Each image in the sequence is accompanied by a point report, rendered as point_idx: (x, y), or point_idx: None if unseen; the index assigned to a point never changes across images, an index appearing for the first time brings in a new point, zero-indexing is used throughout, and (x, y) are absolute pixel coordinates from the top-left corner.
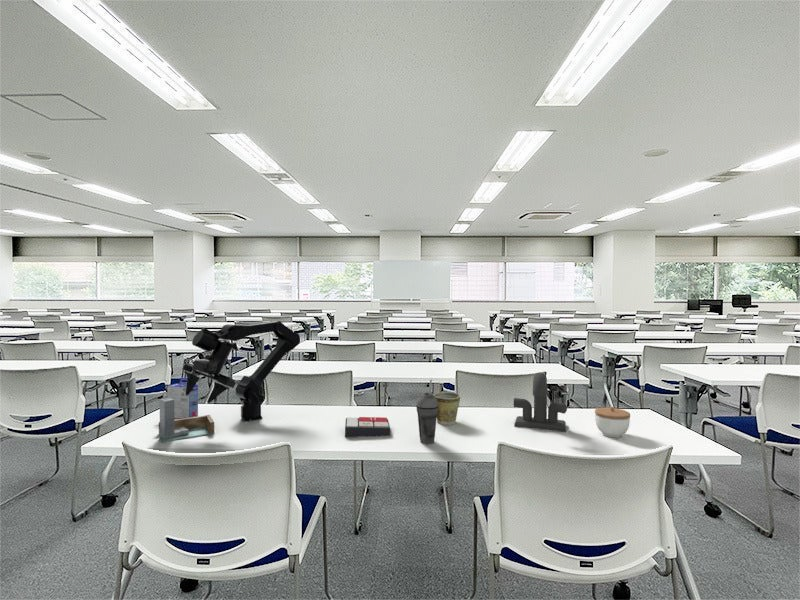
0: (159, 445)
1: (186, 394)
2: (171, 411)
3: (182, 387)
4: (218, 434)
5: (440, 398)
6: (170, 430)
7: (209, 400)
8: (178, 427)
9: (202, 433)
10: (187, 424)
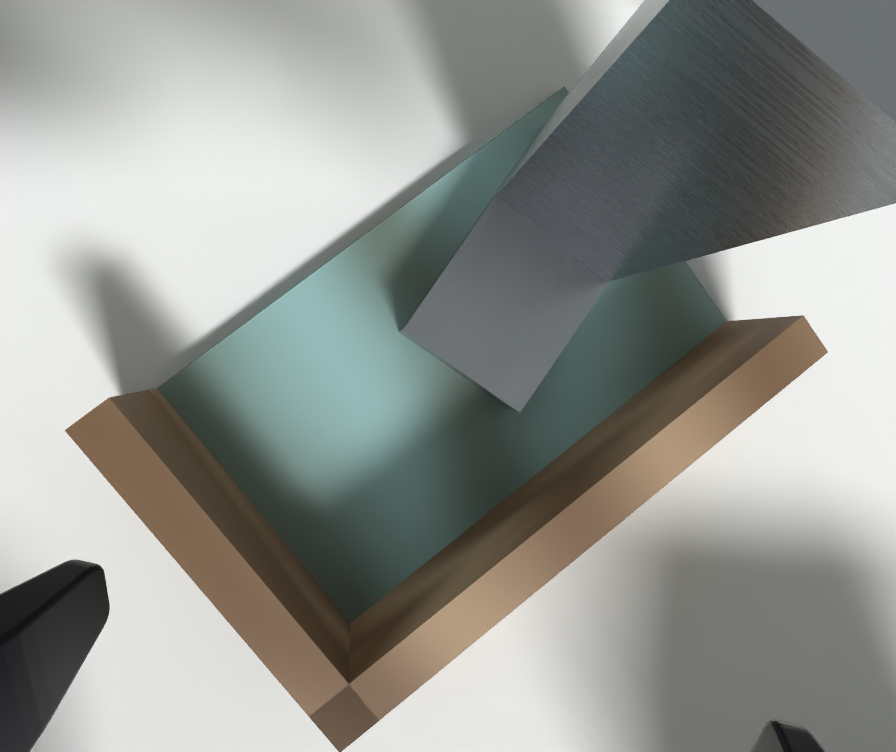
0: (520, 11)
1: (769, 723)
2: (617, 46)
3: None
4: (66, 401)
5: None
6: (533, 145)
7: (17, 594)
8: (595, 439)
9: (251, 369)
10: (526, 505)
